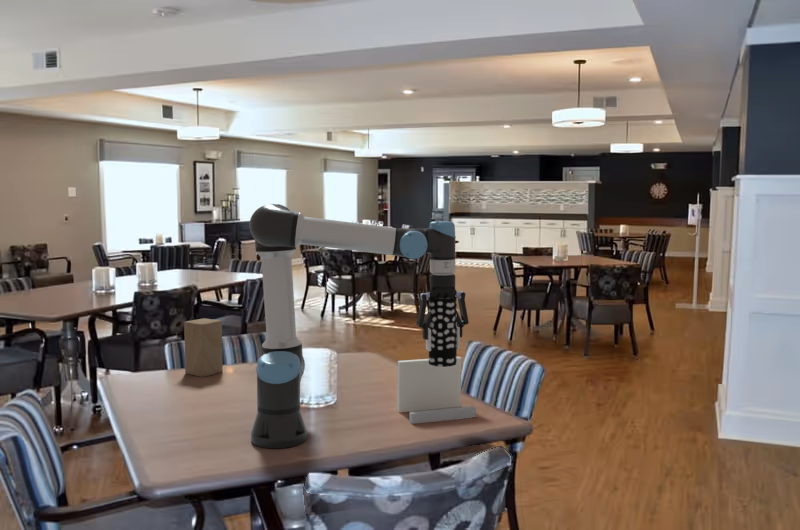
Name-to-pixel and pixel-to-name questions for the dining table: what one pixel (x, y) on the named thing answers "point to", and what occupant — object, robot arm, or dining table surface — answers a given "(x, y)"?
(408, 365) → the cleat board
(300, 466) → the dining table surface
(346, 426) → the dining table surface
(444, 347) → the white-spotted black cylinder
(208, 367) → the wooden block
